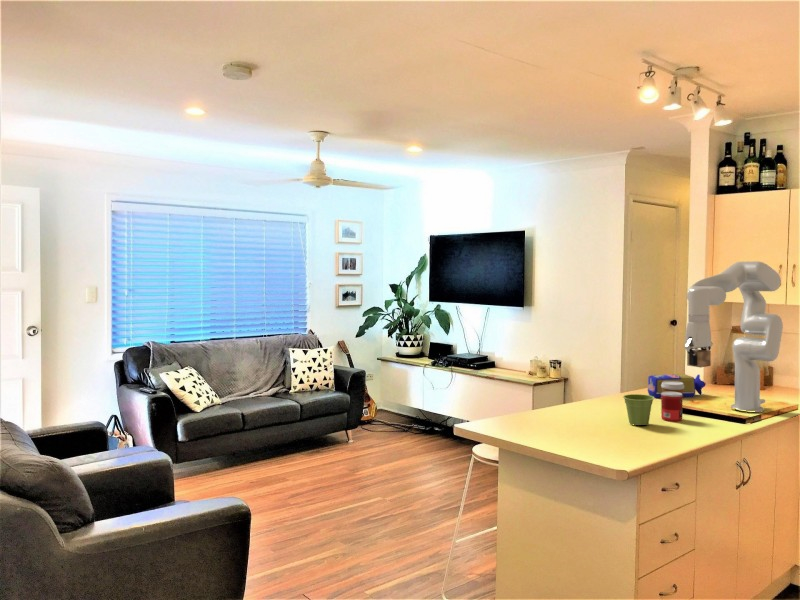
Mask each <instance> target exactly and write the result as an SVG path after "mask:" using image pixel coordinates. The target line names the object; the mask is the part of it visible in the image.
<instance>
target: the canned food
mask: <svg viewBox="0 0 800 600" xmlns="http://www.w3.org/2000/svg"><path fill="white" fill-rule="evenodd" d="M660 400H661V401H660V402H661V403H660V405H661V408H660V410H661V411H660V413H661V419H662V420H663V421H666V422H670V423H671V422H672V423H676V422H678V423H679V422H682V421H683V398H682V393H679V392H662V394H661V398H660Z"/></svg>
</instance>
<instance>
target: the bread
mask: <svg viewBox="0 0 800 600" xmlns="http://www.w3.org/2000/svg"><path fill="white" fill-rule="evenodd" d="M700 376H701V375H700V373H699V374H697V375H696V376H695V377H694V376H691V375H688V374H686V373H680V374H679V373H677V374H676V373H675V374H669V373H668V374H653V375H649V376H648V381H647V394H648V395H649V396H653V397H654V399H661V394H662V392H663V391H662V387H661V385H662V382H664V381H677V382H682V383H683V384H684V386H685V387H684V389H683V395H682V399H683V398H684V399H685V398H694V397H695V395H696V392H697V393H698V395H699V396H702V394H703V392H702V389H703V388H704V387H706V385H707V383H706V382H705V381H703V380H701V377H700Z"/></svg>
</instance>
